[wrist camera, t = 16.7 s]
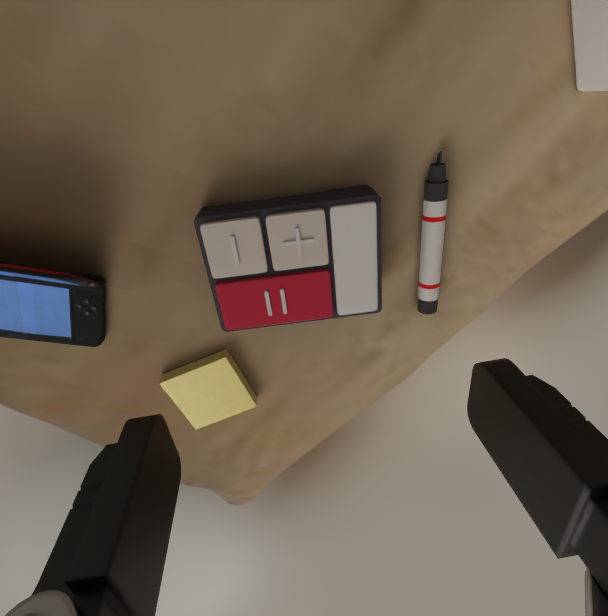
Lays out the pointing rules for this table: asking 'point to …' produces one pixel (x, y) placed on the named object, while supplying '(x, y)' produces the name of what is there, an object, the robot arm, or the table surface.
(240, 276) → the calculator
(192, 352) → the table surface
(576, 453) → the robot arm
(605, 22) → the medicine bottle
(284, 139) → the table surface
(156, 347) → the table surface
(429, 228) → the marker
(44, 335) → the handheld console
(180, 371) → the sticky pad
